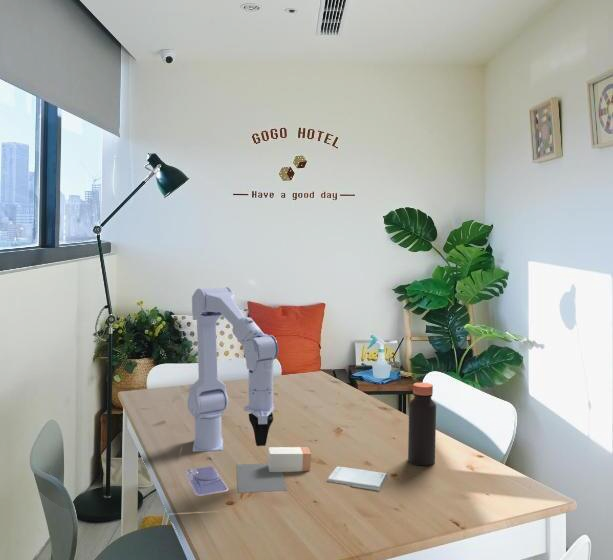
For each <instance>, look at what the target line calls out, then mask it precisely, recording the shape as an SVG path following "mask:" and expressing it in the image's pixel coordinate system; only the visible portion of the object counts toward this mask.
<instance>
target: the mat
mask: <svg viewBox="0 0 613 560" xmlns="http://www.w3.org/2000/svg"><path fill="white" fill-rule="evenodd" d="M236 479H237V481H236V482H237V493H238V494H244V493H245V494H246V493H265V492H280V491H282V492H283V491H285V492H286V491H288V488H287V484H286V480H285V476H284V472H269V468H268V462H267V463H266V462H265V463H248V464H236Z"/></svg>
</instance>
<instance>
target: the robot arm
mask: <svg viewBox="0 0 613 560" xmlns="http://www.w3.org/2000/svg"><path fill="white" fill-rule="evenodd" d="M191 308H192V309H191V312H192V313H191V314H192V319H195V320H196V333H197V336H196V337H197V338H196V339H197V340H196V341H197V361H198V362H197V364H198V369H197V370H198V379H197V380H196V381H195V382H194V383H193V384H191V385H190V387H189V388H188V389H189V390H188V397H187V409H188V411H189V413H190V414H191V415H192V416H193V417H194V440H193V446H192V453H193V452H194V453H196V452H216V451H217V452H218V451H223V450H224V437H222V415H224V414H225V412H224V411H226V409H228V407H229V406H228V405H229V396H228V394H227V388H226V387H227V386H226V384H225V383H224V382H223V381H222V380H219V379H218V357H217V354H218V353H217V348H218V347H217V321H218V320H219V319H220V318H221V317H224V318H225V319H226V321H227V322H229V323H230V324H231V325H232V334H233V335H234V337H235V338H236V339H237V341H238V342H239V343H240V344H241V346H242V348H243V355H244V358H245V363H246V364H245V366H246V368H247V370H248V405H243V411H244V412H249V414H248V420H249V423H250V424H251V426H252V431H253V434H254V441H255V445H256V447H265V446H266V445H267V440H268V437H269V435H268V434H269V432H270V431H269V430H270V427H271V425H272V424H273V421H274V415H273V414H274V413H273V411H274V410H275V406H274V360H276V359H277V357H278V355H279V343H278V342H277V339H276V337H275V336H274V335H271V334H269V335H268V334H267V333H264V332H263V331H262V330H261V328H260V327H259V326H258V324H256V322H255V321H254V320H253V318H252V317H249V316H244V314H243V312H242V311H241V309H240V308H239V306H238V305H237V304H236V295H235V293H234V292H233V290H232V289H231V287H229V286H228V287H227V286H226V287H218V288H217V287H216V288H197V289H196V290H195V291H194V292H193V295H191Z"/></svg>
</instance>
